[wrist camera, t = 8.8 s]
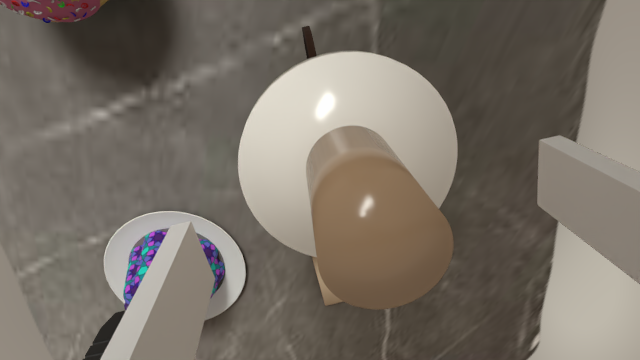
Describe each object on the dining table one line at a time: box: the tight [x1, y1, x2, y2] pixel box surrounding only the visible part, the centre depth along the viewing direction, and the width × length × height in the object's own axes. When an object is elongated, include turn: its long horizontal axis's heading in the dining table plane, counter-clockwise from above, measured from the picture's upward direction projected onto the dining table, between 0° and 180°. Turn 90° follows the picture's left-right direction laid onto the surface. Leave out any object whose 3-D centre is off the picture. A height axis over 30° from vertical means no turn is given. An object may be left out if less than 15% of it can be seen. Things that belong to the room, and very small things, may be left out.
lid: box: [238, 50, 457, 309], centre depth 16 cm, size 11×11×9 cm
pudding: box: [104, 211, 246, 320], centre depth 32 cm, size 12×12×5 cm
